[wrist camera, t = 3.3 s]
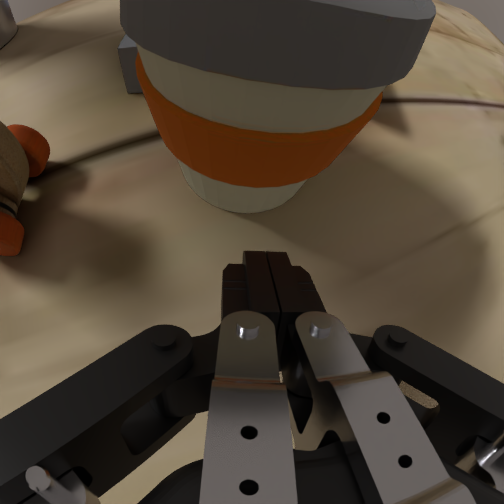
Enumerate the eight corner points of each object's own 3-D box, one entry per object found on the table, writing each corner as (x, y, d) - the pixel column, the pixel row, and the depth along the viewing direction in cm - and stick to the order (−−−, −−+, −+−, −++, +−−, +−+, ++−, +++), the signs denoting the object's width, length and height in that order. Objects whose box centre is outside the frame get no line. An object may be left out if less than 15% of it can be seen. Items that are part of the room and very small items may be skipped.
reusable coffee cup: (151, 107, 22) (129, -68, 8) (300, 93, 24) (353, -59, 10) (164, 256, 18) (75, 29, 4) (353, 224, 20) (501, 63, 6)
